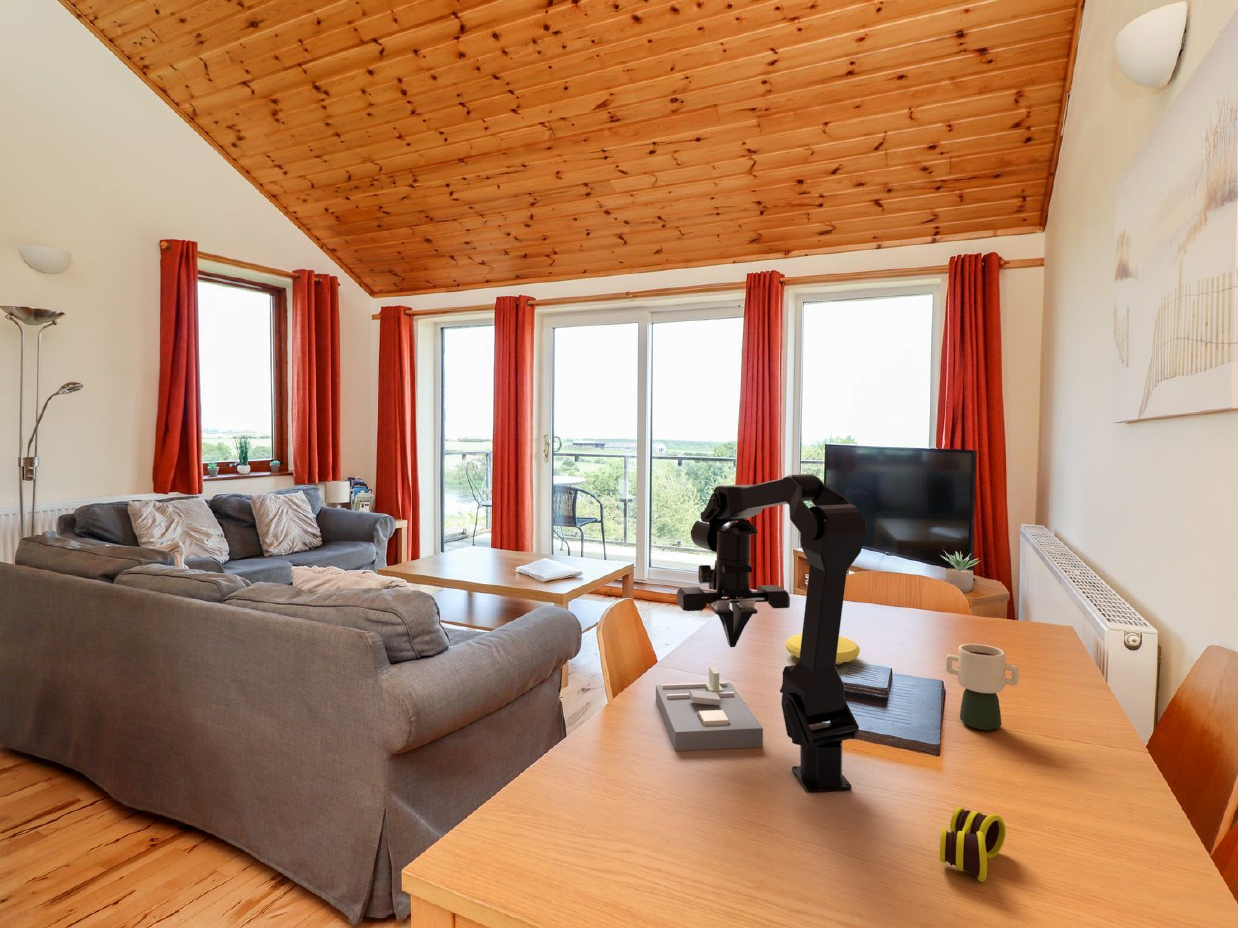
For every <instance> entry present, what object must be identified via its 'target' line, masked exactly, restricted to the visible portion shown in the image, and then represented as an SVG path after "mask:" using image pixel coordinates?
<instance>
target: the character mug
mask: <svg viewBox="0 0 1238 928" xmlns="http://www.w3.org/2000/svg"><path fill="white" fill-rule="evenodd" d="M957 653H958V654H957V655H955V654H954V655H953V654H947V655H946V658H945V671H946V673H948V674H949V675H956V676H957V681H958V684H959V686H961V687H962V688H965V689H964V691H963V693H962V698H961V704H960V710H959V711H960V712H959V719H960V720H961V721H962V723H964V724H965V725H967V726H969V727H971V728H975V729H980V730H995V729H998V728H1000V727H1002V725H1003V724H1002V715H1001V714H1002V713H1001V708H1000V700H999V697H998V693H1001V692H1002V691H1004V689H1005V686H1006V685H1010V686H1018V684H1019V681H1020V680H1019V679H1020V677H1019V676H1020V675H1019V674H1020V673H1019V671H1020V670H1019V667H1018V666H1017V665H1014V664H1008V663H1006V661H1007V660H1006V658H1007V656H1006V655H1007V654H1006V652H1005V650H1003V649H1001V648H998V647H996V646H992V645H988V644H981V643H965V644H961V645H959V646H958V652H957ZM953 662H957V668H953ZM1006 671H1011V678H1008V677H1006Z"/></svg>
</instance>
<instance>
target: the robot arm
mask: <svg viewBox="0 0 1238 928" xmlns="http://www.w3.org/2000/svg"><path fill="white" fill-rule="evenodd" d="M805 502H811V503H812V504H813V505H812V506H808V505H807V504H806V503H805ZM784 505H788V506H789V507H788V508H789V509H788V511H789V519H790V521H791V523H792V524H793V525H794V526H795V528H796V529H797V530H798V531H799V533H800V548H801V549H802V552H803V554H804V555H805V557H806V560H807V562H808V565H809V569H808V579H807V588H806V589H807V590H806V598H805V607H804V616H803V624H802V633H801V634H802V640H801V649H800V658H798V660H797V662H796V664H791V665H787V666H786V665H785V666H784V668H783V670H782V682H781V683H782V684H781V687H780V689H779V692H780V694H782V695H781V709H782V715H783V718H784V719H783V720H784V725H785V730H786V734H787V737H789V738H790V739H791V743H792V744H794V745H798V746H800V748H799V749H800V750H799V751H800V754H799V755H800V756H799V759H800V760H799V761H800V762H799V764H800V765H793V766H791V771H792V773H793V774H794V775H795V777H796V778H797V780H798V781H799V783H800V784H801V785H802V787H803V788H804V790H805V791H806V792H809V793H811V792H813V793H814V792H832V791H833V792H834V791H848V790H849V791H850V790H852V784H851V783H850V782H849V780H848V779H847V778H846V777H845V776H844V775H843V741H846V740H847V741H848V740H854V739H857V736H858V734H859V733H858V732H859V730H860V728H859V724H858V722H857V720H856V719H855V717H854V714H853V713H852V710H851V709H850V707H849V705H848V703H847V701H846V699H845V684H844V682H843V680H842V678H841V675H840V674H839V672H838V670H837V668H836V656H837V648H838V640H839V636H840V632H841V622H842V615H843V605H844V598H845V589H846V583H847V582H846V581H847V574H848V570H849V569H850V568H851V566H852V564H853V563H854V562H855V561H856V560H857V558H858V556H859V555H860V554H861V552H862V550H863V549H862V548H863V545H864V541H865V537H866V534H867V519H866V517H864V516H863V514H862V511H861V510H860V509H859V508H858V507H857V506H856V505H854V504H853V503H852V502H851V501H850V500H849V499H848V498H847V497H846V496H845V495H843V494H841V493H839V492H838V491H836V490H834V489H832V488H830V486H828V485H826V484H825V483H824V482H823V481H822V480H821V478H820V477H818V476H817V475H814V474H812V473H811V474H809V473H807V474H789V475H787V476H785V477H783V478H778V479H774V480H769V481H765V482H761V483H757V484H733V485H731V484H729V485H717V486H715V487H714V489H713V492H712V493H711V495H710V497H709V499H708V502H707V504H706V506H705V508H704V510H703V511H700V518H699V519H697V520H696V521H695V522H694V523H693V525H692V528H691V530H690V538H691V541H692V542H693V544H694V545H695V546H697V547H699V548H701V549H704V550H707V551H711V552H713V553H716V560H715V561H714V568H713V569H712V567H711V565H710V564H705V565H704V564H703V565H702V564H701V565H698V573H697V574H698V575H697V576H698V583H699V584H700V585H701V584H702V585H703V584H704V585H705V584H706V585H707V584H708V589H709V590H712V592H705V591H704V590H703V589H702V588H701V587H699V586H691V587H690V586H689V587H679V589H677V592H676V604H677V605H678V606H679V607H680V609H682V611H685V612H702V611H704V610H705V608H706V607H708V608H709V609H710V610H711V611H712V612H713V613H714V614H715V615H717V616H718V617H719V620H720V622H721V624H722V628H723V630H724V634H725V637H726V641H727V644H728V646H729V647H730V648H735V647H736V646H737V643H738V641H739V640H740V638H741V635H742V632H743V631H744V629H745V627H746V625H747V623H749V620H750V619H751V618H752V616H753V615H756V614H758V609H756V608H755V607H756V606H755V605H756V603H767V604H768V605H769V606H770V607H771V608H772V609H789V608H790V606H791V597H790V593H788V592H789V591H787V590H786V589H784V588H782V587H781V586H779V585H778V584H769V585H768V584H767V585H766V584H765V585H763V584H762V585H758V587H757V589H756V590H754V591H753V590H752V589H750V587H751V573H753V566H752V565H751V537H752V536H753V535H757V534H758V530H757V528H756V526H754V525H753V524H752V523H751V521H750V518H752V517H755V516H757V515H759V514H761V513H762V511H763V510H764V509H766V508H772V507H778V506H784ZM748 518H749V519H748ZM713 591H715V592H713ZM707 605H708V606H707ZM824 722H825V723H824ZM826 722H827V723H826ZM820 723H822V724H820ZM816 724H817V725H816ZM818 724H819V725H818ZM810 725H813V726H810Z"/></svg>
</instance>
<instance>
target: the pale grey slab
mask: <svg viewBox="0 0 1238 928" xmlns="http://www.w3.org/2000/svg"><path fill="white" fill-rule="evenodd" d="M689 697H690V699H691V700H692V702H693V703H701V704H711V705H720V703H721V699H720V697H719V696H718V694H717V693H716V692H706V691H696V690H690V691H689Z"/></svg>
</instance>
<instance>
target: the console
mask: <svg viewBox="0 0 1238 928" xmlns="http://www.w3.org/2000/svg"><path fill="white" fill-rule="evenodd" d="M705 683H706V682H693V683H690V682H689V683H688V682H687V683H666V684H665V683H663V684H657V685H656V684H655V703H656V706H657V708H658V710H659V713H660V715H661V718H662V721H663V723H664V726H665V728H666V731H667V734H668V737H669V738H670V742H671V744H672V746H673V749H674V751H675V752H679V751H681V752H682V751H683V752H684V751H701V750H704V751H705V750H725V749H743V748H744V749H746V748H763V747H764V728H763V726H762V725H761V723H760V722H759V720H758V719H757V718H756V716H755V715H754V714H753V712H752V711H751V709H750V707H748V705H747V704H746V702H745V701H744V700H743V698H742V697H741V695H740V694H739V693H738V692H737V690H736V688H735V687H734V686H733V684H732V683H731V682H727V681H719V684H720V686H721V687H722V689H723V692H716V693H717V694H718V696H719V697H720V699H721V703H720V705H711V704H701V703H693V702H692V700H691V699H690V697H689V691H690V690H696V691H706V692H709V691H708V690H707V688H706V687H705ZM711 710H723V712H724V713H725V715H726V717H727V718H728V720H729V725H717V726H702V724H701V722H700V720H699V711H711Z"/></svg>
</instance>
